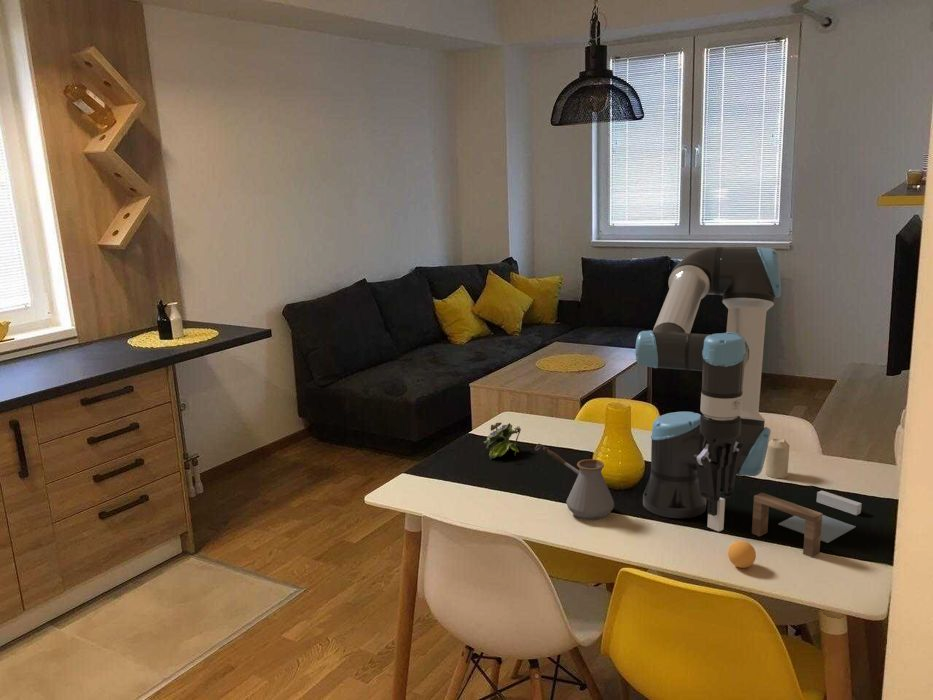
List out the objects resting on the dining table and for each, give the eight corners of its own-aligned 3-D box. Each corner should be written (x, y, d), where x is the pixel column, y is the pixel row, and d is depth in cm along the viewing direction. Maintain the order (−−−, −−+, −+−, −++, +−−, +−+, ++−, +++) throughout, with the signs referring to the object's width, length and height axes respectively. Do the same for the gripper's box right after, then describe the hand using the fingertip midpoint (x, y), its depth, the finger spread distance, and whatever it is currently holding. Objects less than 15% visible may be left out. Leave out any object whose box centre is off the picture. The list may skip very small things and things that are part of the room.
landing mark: (778, 524, 183) (778, 523, 183) (806, 510, 190) (806, 509, 190) (827, 543, 174) (827, 542, 174) (855, 527, 181) (855, 526, 181)
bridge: (811, 557, 168) (814, 517, 166) (751, 533, 179) (753, 495, 177) (819, 553, 170) (822, 513, 167) (759, 529, 181) (761, 492, 179)
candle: (783, 470, 214) (786, 436, 211) (790, 478, 208) (792, 443, 206) (763, 470, 214) (765, 435, 212) (768, 478, 209) (770, 443, 207)
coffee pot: (622, 511, 193) (623, 453, 189) (598, 528, 184) (599, 468, 180) (549, 490, 206) (549, 436, 202) (524, 505, 197) (523, 449, 194)
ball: (721, 565, 166) (723, 541, 165) (737, 557, 169) (739, 533, 168) (744, 575, 161) (746, 551, 160) (760, 567, 165) (762, 542, 163)
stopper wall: (816, 501, 194) (817, 492, 194) (820, 499, 195) (821, 490, 195) (856, 515, 186) (857, 505, 186) (860, 513, 188) (861, 503, 187)
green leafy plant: (496, 467, 237) (503, 429, 241) (526, 468, 230) (533, 429, 234) (474, 456, 229) (482, 417, 233) (504, 456, 222) (512, 416, 226)
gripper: (716, 426, 145) (710, 544, 150) (758, 412, 152) (751, 525, 158) (683, 417, 151) (678, 531, 156) (724, 404, 158) (719, 513, 163)
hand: (715, 528), depth 157 cm, fingers closed
